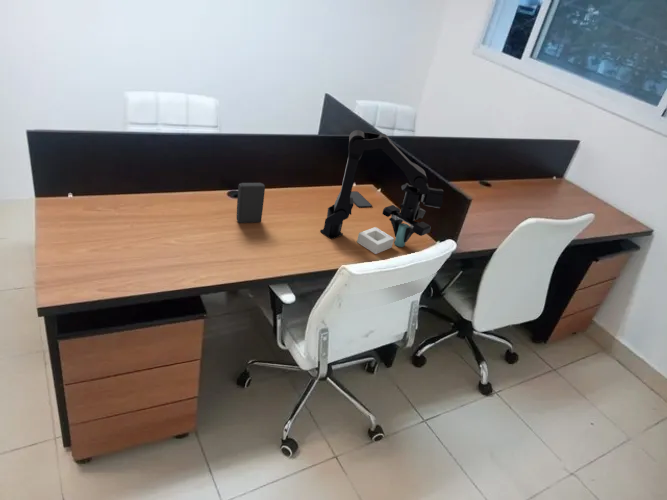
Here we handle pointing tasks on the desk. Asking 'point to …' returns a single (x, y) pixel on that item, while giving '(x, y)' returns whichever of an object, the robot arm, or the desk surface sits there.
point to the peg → (401, 235)
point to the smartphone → (359, 200)
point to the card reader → (250, 202)
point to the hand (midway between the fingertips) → (400, 239)
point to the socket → (375, 240)
